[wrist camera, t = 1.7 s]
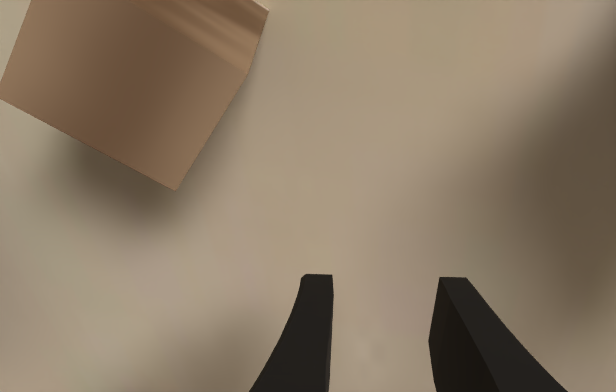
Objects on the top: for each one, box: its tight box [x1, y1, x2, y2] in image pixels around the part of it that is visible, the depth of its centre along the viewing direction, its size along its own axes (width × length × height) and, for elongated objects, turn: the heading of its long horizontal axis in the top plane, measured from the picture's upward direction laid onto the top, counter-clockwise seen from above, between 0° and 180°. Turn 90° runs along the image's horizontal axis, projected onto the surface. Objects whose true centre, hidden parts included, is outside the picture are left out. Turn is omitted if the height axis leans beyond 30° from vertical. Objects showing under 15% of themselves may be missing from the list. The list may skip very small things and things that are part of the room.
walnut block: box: [0, 0, 269, 191], centre depth 17 cm, size 5×4×7 cm
